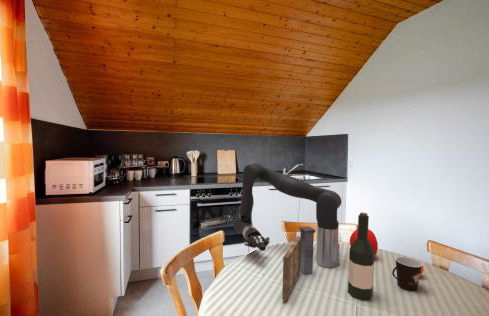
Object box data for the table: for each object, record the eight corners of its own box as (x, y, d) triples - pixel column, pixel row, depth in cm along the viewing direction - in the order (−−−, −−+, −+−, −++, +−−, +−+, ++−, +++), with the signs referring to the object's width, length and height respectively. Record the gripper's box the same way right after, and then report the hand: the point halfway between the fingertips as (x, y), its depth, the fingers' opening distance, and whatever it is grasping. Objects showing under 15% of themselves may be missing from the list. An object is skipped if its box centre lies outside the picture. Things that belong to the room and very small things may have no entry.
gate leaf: (296, 271, 106) (297, 236, 105) (300, 271, 105) (301, 236, 105) (282, 299, 87) (283, 256, 86) (286, 300, 86) (287, 257, 85)
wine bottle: (362, 303, 86) (366, 217, 85) (342, 290, 94) (346, 211, 92) (377, 297, 90) (381, 215, 89) (358, 285, 98) (361, 209, 96)
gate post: (307, 268, 110) (309, 226, 109) (313, 274, 106) (315, 230, 104) (298, 270, 109) (299, 227, 108) (303, 275, 104) (304, 230, 103)
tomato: (380, 257, 123) (382, 228, 122) (372, 264, 115) (373, 234, 114) (354, 249, 132) (355, 222, 131) (345, 255, 124) (346, 227, 123)
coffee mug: (412, 281, 101) (413, 257, 101) (425, 294, 93) (427, 267, 92) (382, 279, 102) (383, 255, 102) (392, 291, 94) (394, 265, 93)
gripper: (239, 228, 125) (249, 241, 108) (264, 226, 128) (277, 238, 112) (238, 243, 125) (249, 258, 108) (263, 241, 129) (277, 255, 112)
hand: (263, 248), depth 110 cm, fingers closed
